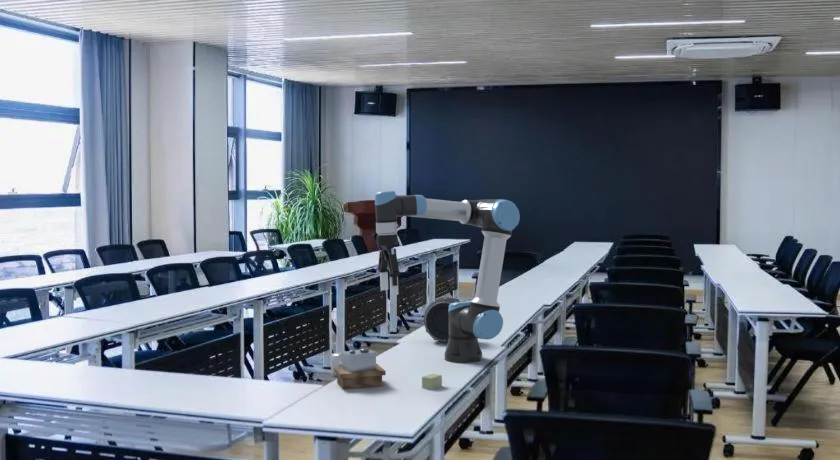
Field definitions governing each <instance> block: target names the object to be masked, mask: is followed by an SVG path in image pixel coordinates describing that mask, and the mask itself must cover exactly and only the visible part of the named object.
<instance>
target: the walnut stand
mask: <svg viewBox="0 0 840 460" xmlns="http://www.w3.org/2000/svg"><path fill="white" fill-rule="evenodd" d="M386 371H387V370H385V369H384V368H383V367H382V366H380V365H379V364H378V363H376V369H373V370H366V371H359V372H352V373H350V372H348V371H345V370H343V369H342V367H334V372H335V373H336V374H337V377H336V382H337V384H338V386H339V387H340V388H341V389H342V390H349V389H350V390H351V389H361V388H362V389H363V388H375V387H382V386H383V376H386V374H387V372H386Z"/></svg>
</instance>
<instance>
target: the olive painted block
mask: <svg viewBox="0 0 840 460" xmlns="http://www.w3.org/2000/svg"><path fill="white" fill-rule="evenodd" d="M442 376H443V375H442V374H436V373H431V374H427V375H424V376H422V377H421V388H422V389H426V390H435V389H437V388H441V387H442V386H443V380H442V379H443V377H442Z"/></svg>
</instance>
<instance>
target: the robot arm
mask: <svg viewBox="0 0 840 460" xmlns="http://www.w3.org/2000/svg"><path fill="white" fill-rule="evenodd" d="M374 195H375V196H374V206H375V207H374V209H375V233H376V234H377V235H376V245H377V246H379V253H378V256H379V257H378V265H377V268H378V269H377V270H378V271H379V279H380V281H379V282H380V283H379V284H380V291H388V290H389V289H390V296H397V295H399V294H400V293H399V276H400V274H401V272H400V269H399V262H398V257H397V248H394V247H393V246H395V245H398V244H399V243H398V241H399V240H398V235H397V233H398V227H399V224H398V220H397V219H398V218H399V217H413V218H422V219H423V218H425V219H435V220H436V219H437V220H445V221H457V222H459V223H460V224H462V225H470V226H474V227H478V228H481V231H480V232H481V233H482V234H483V236H484V238H483V244H482V245H483V246H482V251H481V258H480V263H479V269H478V275H477V282H476V289H475V295H474V298H472V299H471V300H469V301H460V302H456V303H451V304H450V305H449V310H448V314H449V341H448V343H446V344H447V345H446V348H445V352H444V360H446V361H448V362H452V363H474V362H475V363H476V362H479V361H481V360H483V352H482V349H481V346H480V343H479V342H480V341H479V340H478V339H480V340H486V341H487V340H492V339H494V338H495V337H498V335H499V334H500V333H501V332H502V330H503V326H504V318H503V317H502V314H501V313H500V308H501V305H500V304H499V303H498V298H499V297H498V296H499V290H500V284H501V278H502V271H503V264H504V258H505V253H506V246H507V240H509V238H511V237H512V232H513V230H514V229H515V228H516V227H518V225H519V223H520V219H521V218H520V211H519V209H518V207H517V205H516V204H515V203H514V202H513V201H511V200H508V199H502V198H500V199H489V198H488V199H487V198H486V199H476V200H475V199H474V200H470V199H464V200H461V201H455V200H453V201H452V200H445V199H437V198H436V199H434V198H426V197H425V196H424V195H422V194H412V195H411V194H410V195H409V194H408V195H407V194H406V195H404V194H403V195H401V194H400V195H399V194H398V195H397V193H396V191H394V190H392V191H391V190H389V191H388V190H384V191H377V192H376V193H375V194H374ZM397 217H398V218H397ZM388 273H389V275H388ZM388 277H389V278H388ZM389 286H390V287H389Z"/></svg>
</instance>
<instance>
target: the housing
mask: <svg viewBox="0 0 840 460" xmlns="http://www.w3.org/2000/svg"><path fill="white" fill-rule="evenodd" d="M341 353H342V369H343V370H345V371H348V372H350V373H352V372H359V371H366V370H373V369H376V364H377V352H376V351H374V350H371V349H369V348H367V347H365V348H359V349H355V350H354V349H350V350H348V351H346V350H345V351H341Z"/></svg>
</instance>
